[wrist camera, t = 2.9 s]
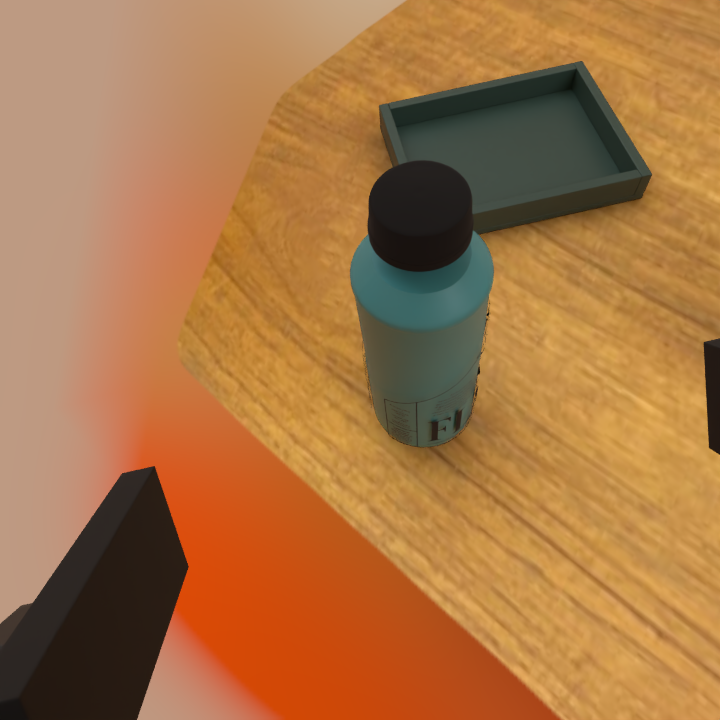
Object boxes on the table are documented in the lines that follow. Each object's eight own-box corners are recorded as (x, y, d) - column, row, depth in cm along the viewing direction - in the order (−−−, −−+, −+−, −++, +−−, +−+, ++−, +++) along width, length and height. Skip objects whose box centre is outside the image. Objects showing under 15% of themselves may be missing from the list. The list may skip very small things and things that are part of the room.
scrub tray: (419, 247, 46) (419, 225, 44) (380, 129, 52) (378, 104, 50) (641, 198, 46) (652, 174, 44) (575, 86, 53) (582, 60, 51)
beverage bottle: (428, 480, 37) (433, 298, 20) (351, 415, 40) (296, 203, 22) (493, 407, 39) (551, 183, 22) (416, 349, 42) (411, 107, 24)
